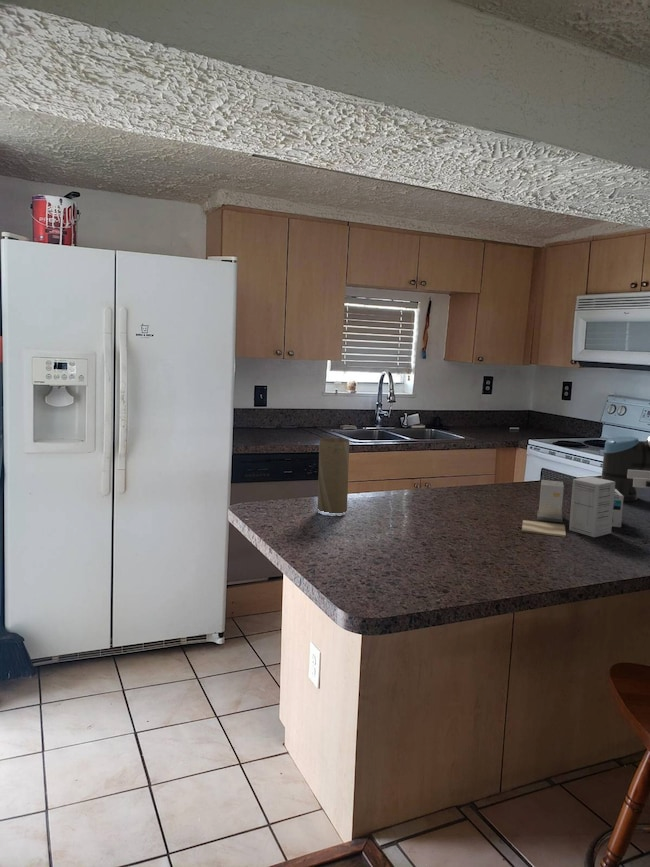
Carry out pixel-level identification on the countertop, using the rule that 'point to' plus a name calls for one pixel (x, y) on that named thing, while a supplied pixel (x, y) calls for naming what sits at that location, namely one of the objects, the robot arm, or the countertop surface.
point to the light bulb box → (617, 509)
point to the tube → (333, 474)
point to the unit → (551, 501)
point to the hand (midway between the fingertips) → (630, 477)
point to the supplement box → (592, 506)
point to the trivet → (543, 528)
